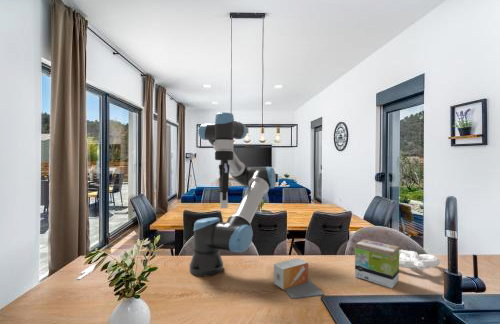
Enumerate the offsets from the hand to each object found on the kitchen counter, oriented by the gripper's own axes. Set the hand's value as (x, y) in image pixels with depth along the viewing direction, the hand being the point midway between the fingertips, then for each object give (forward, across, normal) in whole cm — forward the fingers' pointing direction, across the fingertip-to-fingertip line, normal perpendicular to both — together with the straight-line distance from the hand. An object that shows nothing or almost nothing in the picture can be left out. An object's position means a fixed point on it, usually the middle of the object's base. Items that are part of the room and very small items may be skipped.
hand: (223, 207), depth 107 cm
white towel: (+31, +2, +87) cm, 93 cm away
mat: (+30, +11, +29) cm, 43 cm away
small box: (+26, +10, +20) cm, 34 cm away
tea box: (+31, +12, +64) cm, 72 cm away
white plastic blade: (+31, -22, -59) cm, 70 cm away
